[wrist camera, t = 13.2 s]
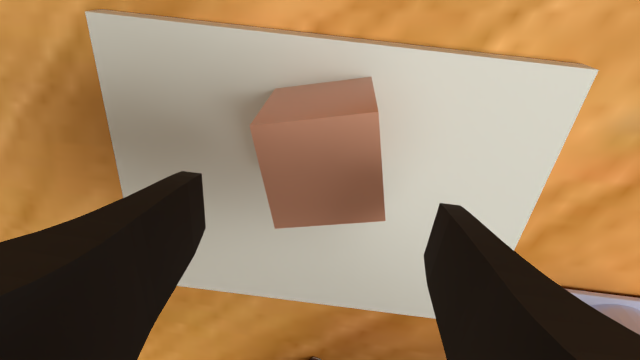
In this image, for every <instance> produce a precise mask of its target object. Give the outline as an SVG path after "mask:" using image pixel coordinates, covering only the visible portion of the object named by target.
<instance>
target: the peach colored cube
mask: <svg viewBox="0 0 640 360" xmlns="http://www.w3.org/2000/svg"><path fill="white" fill-rule="evenodd" d="M250 130H251V134H252V138H253V142H254V146H255V150H256V154H257V159H258V163H259V167H260V171H261V175H262V179H263V183H264V187H265V191H266V195H267V199H268V203H269V207H270V211H271V215H272V219H273V223H274V227H275V229H279V228H294V227H308V226H322V225H337V224H351V223H366V222H380V221H386V219H385V204H384V189H383V173H382V158H381V143H380V127H379V112H378V107H377V102H376V97H375V92H374V87H373V82H372V77H365V78H357V79H349V80H341V81H332V82H324V83H316V84H308V85H300V86H292V87H284V88H275V89H274V91H273V92H272V94H271V95H270V97H269V98H268V100H267V101H266V102H265V104H264V105H263V107H262V108H261V110H260V111H259V113H258V114H257V116H256V117H255V119H254V120H253V121H252V123H251V124H250Z"/></svg>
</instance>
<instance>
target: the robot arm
mask: <svg viewBox="0 0 640 360" xmlns="http://www.w3.org/2000/svg"><path fill="white" fill-rule="evenodd" d="M205 229H206V224H205V211H204V197H203V184H202V173H194V172H186V171H181V172H178V173H175V174H173V175H171V176H169V177H166V178H164V179H162V180H160V181H158V182H156V183H154V184H152V185H150V186H148V187H146V188H144V189H141V190H139V191H137V192H135V193H133V194H131V195H129V196H127V197H125V198H123V199H120V200H118V201H116V202H113V203H111V204H109V205H107V206H104V207H102V208H100V209H97V210H95V211H93V212H90V213H88V214H86V215H83V216H81V217H78V218H75V219H73V220H70V221H67V222H64V223H62V224H59V225H56V226H53V227H50V228H47V229H44V230H41V231H38V232H35V233H31V234H28V235H24V236H21V237H17V238H14V239H10V240H7V241H3V242H0V360H137V359H138V357H139V354H140V352H141V350H142V348H143V346H144V344H145V341H146V339H147V337H148V335H149V333H150V331H151V329H152V327H153V325H154V323H155V322H156V320H157V318H158V316H159V314H160V313H161V311H162V309H163V308H164V306H165V304H166V303H167V301H168V299H169V298H170V296H171V294H172V293H173V291H174V289H175V288H176V286H177V284H178V283H179V281H180V279H181V278H182V276H183V274H184V272H185V271H186V269H187V267H188V266H189V264H190V262H191V260H192V259H193V257H194V255H195V253H196V251H197V248H198V246H199V244H200V241H201V239H202V236H203V234H204V231H205ZM424 265H425V273H426V281H427V287H428V291H429V295H430V298H431V302H432V306H433V310H434V313H435V317H436V321H437V324H438V328H439V332H440V335H441V339H442V343H443V346H444V350H445V354H446V358H447V360H640V298H636V297H628V296H620V295H612V294H604V293H596V292H588V291H580V290H572V289H564V288H563V287H561V286H560V285H558V284H557V283H555V282H554V281H552V280H551V279H550V278H548V277H547V276H545V275H544V274H543V273H541V272H540V271H539V270H538V269H536V268H535V267H534V266H532V265H531V264H530V263H529V262H527V261H526V260H525V259H523V258H522V257H521V256H520V255H519V254H517V253H516V252H515V251H514V250H512V249H511V248H510V247H509V246H508V245H506V244H505V243H504V242H503V241H502V240H501V239H499V238H498V237H497V236H496V235H495V234H494V233H493V232H491V231H490V230H489V229H488V228H487V227H486V226H485V225H483V224H482V223H481V222H480V221H479V220H478V219H477V218H475V217H474V216H473V215H472V214H471V213H470V212H468V211H467V210H466V209H465V208H463V207H462V206H460V205H453V204H445V203H440V204H439V207H438V210H437V214H436V217H435V220H434V223H433V227H432V230H431V233H430V236H429V239H428V243H427V246H426V249H425V252H424Z"/></svg>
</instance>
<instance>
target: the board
mask: <svg viewBox="0 0 640 360" xmlns="http://www.w3.org/2000/svg"><path fill="white" fill-rule="evenodd" d="M85 14H86V19H87V23H88V28H89V33H90V38H91V43H92V48H93V53H94V58H95V62H96V67H97V72H98V77H99V82H100V87H101V92H102V96H103V101H104V106H105V111H106V116H107V121H108V126H109V131H110V135H111V140H112V145H113V150H114V155H115V160H116V165H117V170H118V174H119V179H120V184H121V189H122V194H123V198H125V197H127V196H129V195H131V194H133V193H135V192H137V191H139V190H141V189H144V188H146V187H148V186H150V185H152V184H154V183H156V182H158V181H160V180H162V179H164V178H166V177H169V176H171V175H173V174H175V173H178V172H181V171H186V172H194V173H202V184H203V197H204V211H205V224H206V229H205V231H204V234H203V236H202V239H201V241H200V244H199V246H198V248H197V251H196V253H195V255H194V257H193V259H192V260H191V262H190V264H189V266H188V267H187V269H186V271H185V272H184V274H183V276H182V278H181V279H180V281H179V283H178V284H177V286H183V287H191V288H199V289H207V290H214V291H222V292H230V293H238V294H246V295H254V296H261V297H269V298H277V299H285V300H293V301H301V302H308V303H316V304H324V305H332V306H340V307H348V308H355V309H363V310H371V311H379V312H387V313H395V314H402V315H410V316H418V317H426V318H434V319H436V317H435V313H434V310H433V306H432V302H431V298H430V295H429V291H428V287H427V281H426V273H425V265H424V252H425V249H426V246H427V243H428V239H429V236H430V233H431V230H432V227H433V223H434V220H435V217H436V214H437V210H438V207H439V204H440V203H445V204H453V205H460V206H462V207H463V208H465V209H466V210H467V211H468V212H470V213H471V214H472V215H473V216H474V217H475V218H477V219H478V220H479V221H480V222H481V223H482V224H483V225H485V226H486V227H487V228H488V229H489V230H490V231H491V232H493V233H494V234H495V235H496V236H497V237H498V238H499V239H501V240H502V241H503V242H504V243H505V244H506V245H508V246H509V247H510V248H511V249H512V250H514V249H515V247H516V245H517V243H518V241H519V239H520V237H521V234H522V232H523V230H524V228H525V226H526V224H527V222H528V219H529V217H530V215H531V213H532V211H533V209H534V207H535V205H536V202H537V200H538V198H539V196H540V194H541V192H542V190H543V187H544V185H545V183H546V181H547V179H548V177H549V175H550V173H551V170H552V168H553V166H554V164H555V162H556V160H557V158H558V156H559V153H560V151H561V149H562V147H563V145H564V143H565V141H566V138H567V136H568V134H569V132H570V130H571V128H572V126H573V124H574V121H575V119H576V117H577V115H578V113H579V111H580V109H581V106H582V104H583V102H584V100H585V98H586V96H587V94H588V92H589V89H590V87H591V85H592V83H593V81H594V79H595V77H596V75H597V72H598V70H597V69H595V68H592V67H589V66H587V65H584V64H578V63H569V62H561V61H552V60H543V59H534V58H526V57H517V56H508V55H499V54H490V53H482V52H473V51H464V50H455V49H447V48H438V47H429V46H420V45H411V44H403V43H394V42H385V41H376V40H368V39H359V38H350V37H341V36H332V35H324V34H315V33H306V32H297V31H289V30H280V29H271V28H262V27H253V26H245V25H236V24H227V23H218V22H210V21H201V20H192V19H183V18H174V17H166V16H157V15H148V14H139V13H131V12H122V11H113V10H104V9H100V10H92V11H85ZM365 77H372V82H373V87H374V92H375V97H376V102H377V107H378V112H379V127H380V143H381V158H382V173H383V189H384V204H385V219H386V221H380V222H366V223H351V224H337V225H322V226H308V227H294V228H279V229H275V227H274V223H273V219H272V215H271V211H270V207H269V203H268V199H267V195H266V191H265V187H264V183H263V179H262V175H261V171H260V167H259V163H258V159H257V154H256V150H255V146H254V142H253V138H252V134H251V130H250V124H251V123H252V121H253V120H254V119H255V117H256V116H257V114H258V113H259V111H260V110H261V108H262V107H263V105H264V104H265V102H266V101H267V100H268V98H269V97H270V95H271V94H272V92H273V91H274V89H275V88H284V87H292V86H300V85H308V84H316V83H324V82H332V81H341V80H349V79H357V78H365Z"/></svg>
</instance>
